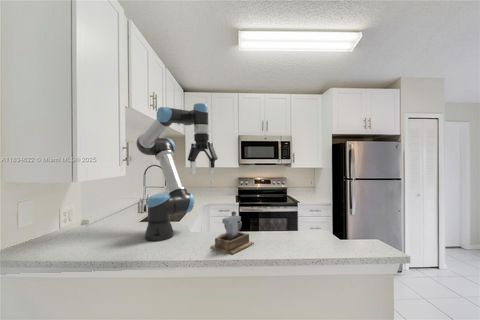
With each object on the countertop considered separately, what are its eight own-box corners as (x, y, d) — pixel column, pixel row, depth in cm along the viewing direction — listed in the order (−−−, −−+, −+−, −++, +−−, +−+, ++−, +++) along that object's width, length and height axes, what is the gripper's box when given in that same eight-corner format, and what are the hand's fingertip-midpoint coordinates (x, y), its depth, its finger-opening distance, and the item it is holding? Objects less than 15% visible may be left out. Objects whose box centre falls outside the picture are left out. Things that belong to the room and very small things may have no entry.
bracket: (223, 246, 114) (222, 218, 114) (235, 241, 121) (234, 215, 121) (229, 248, 112) (228, 220, 112) (241, 242, 119) (240, 216, 119)
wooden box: (210, 248, 114) (210, 237, 114) (232, 239, 127) (232, 229, 127) (233, 254, 106) (232, 243, 106) (253, 244, 118) (253, 234, 118)
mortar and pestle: (241, 237, 130) (240, 215, 130) (223, 237, 130) (223, 215, 130) (242, 231, 141) (241, 210, 141) (226, 231, 142) (226, 210, 142)
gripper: (180, 135, 131) (181, 174, 131) (213, 130, 115) (214, 174, 115) (191, 135, 137) (192, 173, 137) (223, 131, 121) (224, 173, 121)
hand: (202, 174), depth 126 cm, fingers open, 13 cm apart
